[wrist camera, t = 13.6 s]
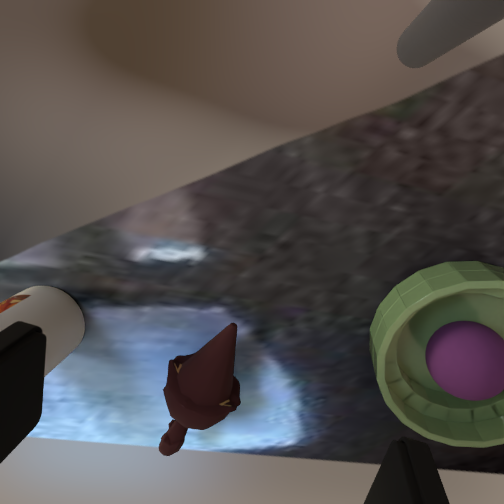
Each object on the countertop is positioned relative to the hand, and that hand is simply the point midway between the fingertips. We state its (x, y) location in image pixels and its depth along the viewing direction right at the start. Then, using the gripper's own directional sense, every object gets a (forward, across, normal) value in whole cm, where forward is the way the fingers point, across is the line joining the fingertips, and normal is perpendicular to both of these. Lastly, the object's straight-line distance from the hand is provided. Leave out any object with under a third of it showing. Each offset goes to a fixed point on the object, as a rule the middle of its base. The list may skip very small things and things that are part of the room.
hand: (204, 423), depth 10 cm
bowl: (+24, -17, +6) cm, 30 cm away
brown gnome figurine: (+24, +3, +16) cm, 29 cm away
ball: (+21, -17, +6) cm, 27 cm away
